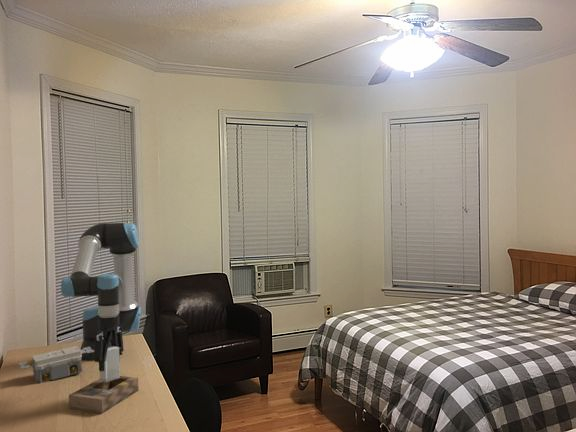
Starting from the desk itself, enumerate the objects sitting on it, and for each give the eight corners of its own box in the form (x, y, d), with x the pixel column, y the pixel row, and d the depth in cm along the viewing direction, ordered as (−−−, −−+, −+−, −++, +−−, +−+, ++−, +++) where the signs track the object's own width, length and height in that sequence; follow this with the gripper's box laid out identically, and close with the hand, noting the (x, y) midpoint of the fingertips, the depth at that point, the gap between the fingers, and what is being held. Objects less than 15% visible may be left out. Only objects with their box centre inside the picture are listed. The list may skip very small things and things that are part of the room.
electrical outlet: (97, 371, 219) (95, 348, 218) (23, 390, 203) (21, 366, 202) (90, 363, 229) (88, 342, 228) (19, 381, 212) (17, 358, 211)
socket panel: (107, 386, 202) (107, 373, 202) (138, 390, 198) (138, 377, 198) (68, 408, 181) (67, 394, 181) (102, 413, 177) (101, 398, 177)
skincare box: (113, 376, 196) (113, 345, 196) (120, 378, 193) (120, 347, 193) (99, 380, 191) (98, 348, 191) (105, 383, 188) (105, 350, 188)
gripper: (116, 309, 202) (117, 366, 203) (82, 320, 183) (83, 383, 184) (132, 310, 200) (133, 367, 201) (100, 322, 181) (101, 385, 182)
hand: (109, 375), depth 192 cm, fingers closed on skincare box, 7 cm apart
